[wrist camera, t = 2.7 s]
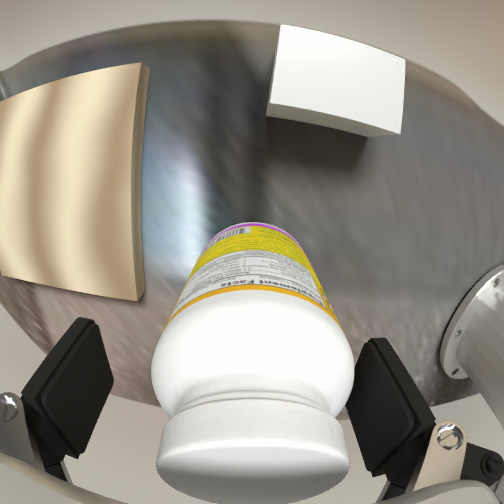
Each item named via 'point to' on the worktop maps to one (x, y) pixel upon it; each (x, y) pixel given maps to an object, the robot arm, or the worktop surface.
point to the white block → (336, 83)
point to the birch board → (75, 182)
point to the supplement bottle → (252, 375)
